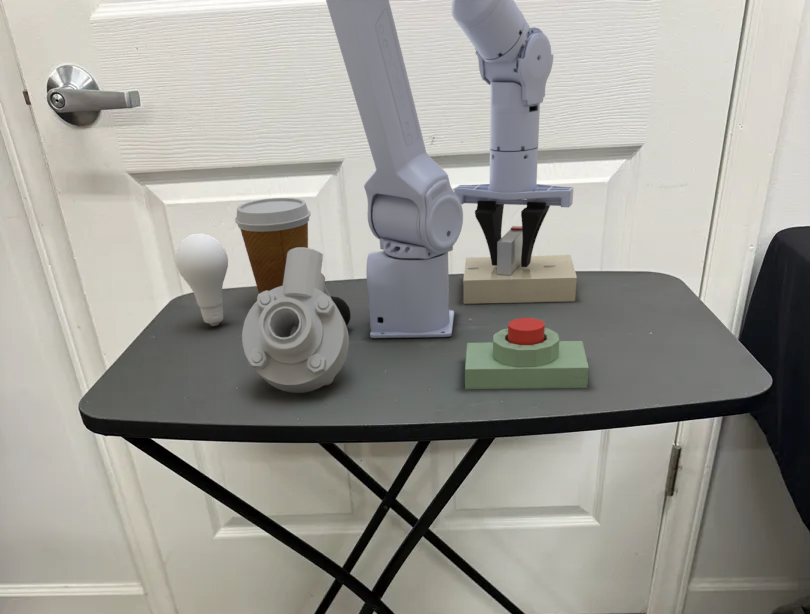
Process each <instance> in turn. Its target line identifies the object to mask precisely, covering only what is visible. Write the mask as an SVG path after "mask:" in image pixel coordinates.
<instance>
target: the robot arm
mask: <svg viewBox="0 0 810 614" xmlns="http://www.w3.org/2000/svg"><path fill="white" fill-rule="evenodd" d="M325 2H326V5H327V9H328V13H329V15H330V19H331V22H332V26H333V29H334V32H335V36H336V39H337V42H338V45H339V49H340V53H341V56H342V59H343V63H344V65H345V70H346V71H347V72H346V73H347V76H348V79H349V84H350V86H351V89H352V93H353V96H354V99H355V104H356V107H357V110H358V113H359V116H360V120H361V123H362V126H363V127H362V128H363V130H364V133H365V136H366V139H367V144H368V147H369V150H370V153H371V157H372V160H373V163H374V167H375V168H374V170H373V171H372V172H371V174H370V175H369V176H368V178H367V179H366V181H365V183H364V184H363V187H364V191H365V194H366V199H367V223H368V227H369V229H370V232H371V233H372V235H373V236H374V237H375V238H376V239H378V240H379V247H380V250H378V251H369V253H368V254H367V256H366V257H367V258H366V271H365V272H366V273H365V275H366V290H367V303H368V316H369V327H370V333H369V338H371V339H402V338H404V339H410V338H413V339H414V338H449V337H451V336H452V334H453V328H454V319H455V311H454V310H452V309H451V310H450V282H449V281H450V280H449V279H450V278H449V277H450V276H449V274H450V273H449V252H452V251H453V250H454V246H455V244H456V243H457V241H458V240H459V238H460V235H461V233H462V229H463V224H464V211H463V205H464V204H473V205H474V204H477V207H476V209H475V210H474V215H475V219H476V220H477V223H478V224H479V227H480V228H481V230H482V234H483V236H484V238H485V240H486V241H485V242H486V244H487V247H488V251H489V257H491V262H492V265H494V266H497V244H498V241H499V240H500V239H501V238H502V226H503V218H504V217H503V216H504V207H505V205H512V206H513V205H514V206H515V205H517V206H526V207H524V208H523V209H522V210H521V212H520V213H521V214H520V217H521V226H522V236H523V242H522V255H521V267H527V266H528V265H529V264H530V261H531V256H533V255H532V254H533V250H534V246H535V243H536V240H537V237H538V235H539V231H540V230H541V227H542V225H543V223H544V220H545V218H546V216H547V214H548V212H549V210H550V207H551V206H552V207H554V206H555V207H556V206H557V207H560V208H570V207H571V206H572V205H573V202H574V188H575V187H574V186H561V185H560V186H559V185H550V184H540V183H538V182H537V181H538V162H539V161H538V160H539V157H538V156H539V138H540V137H539V136H540V135H539V134H540V112H541V111H540V109H541V104H543V102H544V98H545V97H546V85H547V82H548V79H549V77H550V74H551V71H552V68H553V63H554V54H552V46H551V42H550V40H549V38H548V36H547V35H546V34H545V33H544V32H543V31H542V30H541V29H540V28H539V27H536V26H535V27H534V26H533V27H531V26H530V23H528V21H527V20H526V18H525V16H524V14H523V12H522V10H521V9H520V8H519V6H518V5H517V3H516V2H515V0H451V2H450V3H451V4H450V11H451V16H452V18H453V20H454V21H455V22H456V24H457V25H458V27H459V28H460V29H461V31H462V32H463V34H464V35H465V36H466V38H467V40H469V42H470V43H471V45H472V47H474V50H475V55H476V57H477V60H478V70H479V74H480V78H481V80H483V81H484V82H485V83H486V84H487V85H489V86H490V88H489V89H490V91H489V93H490V95H489V96H490V99H489V101H490V103H489V106H490V107H489V183H480V184H458V185H457V186H455V187H454V188H453V187H452V186H451V182H450V178H449V175H448V173H447V172H446V171H445V170H444V169H443V168H442V167H441V166H440V165H439V164H438V163H437V162H436V161H435V160H434V159H433V158H432V157H431V156H430V155H429V154H428V153H427V150H426V146H425V141H424V137H423V134H422V129H421V126H420V121H419V117H418V112H417V110H416V104H415V101H414V97H413V93H412V89H411V84H410V81H409V77H408V72H407V68H406V64H405V60H404V56H403V52H402V49H401V44H400V40H399V36H398V32H397V28H396V24H395V23H396V22H395V20H394V16H393V12H392V11H393V10H392V7H391V3H390V0H325ZM452 188H453V189H452Z"/></svg>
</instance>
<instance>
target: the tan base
mask: <svg viewBox="0 0 810 614" xmlns="http://www.w3.org/2000/svg"><path fill="white" fill-rule="evenodd" d="M463 270H464V272H463V279H462V281H463V282H462V283H463V285H462V286H463V290H462V291H463V304H464V305H471V304H472V305H475V304H478V305H479V304H516V303H517V304H518V303H519V304H520V303H525V304H526V303H562V302H565V303H566V302H568V303H569V302H576V297H577V282H578V277H577V273H576V269H575V267H574V263H573V258H572V255H571V254H556V255H554V254H551V255H531V261H530V264H529V265H528V266H527V267H521V264H520V265H519V266H518V267H517V268H516V270H515V271H514V272H513V273H512V274H511V275H499V274H497V266H494V265H492V262H491V256H486V257H485V256H483V257H479V256H478V257H466V258H465V261H464V269H463Z"/></svg>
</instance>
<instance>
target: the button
mask: <svg viewBox="0 0 810 614" xmlns="http://www.w3.org/2000/svg"><path fill="white" fill-rule="evenodd" d="M545 323H546V322H544V321H543V320H541V319H539V318H533V317H520V318H515V319H513V320H511V321H509V322H508V323H507V328H508V342H509V343H512V344H517V345H535V344H539V343H543V342H544V331H545V328H546V324H545Z"/></svg>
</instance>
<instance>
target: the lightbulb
mask: <svg viewBox="0 0 810 614" xmlns="http://www.w3.org/2000/svg"><path fill="white" fill-rule="evenodd" d="M174 257H175V259H174V260H175V261H174V262H175V265H176V269H177V271H178V274H180V276H181V277H182V279H183V281H185V282H186V284H187V285H188V286H189V287H190V289H191V291H192V293H193V295H194V297H195V300H196V304H197V307H199V309H200V314H201V316H202V320H203V322H204V323H206V324H208V325H210V326H211V327H215V326H218V325H220V323H221V322H223V320H224V317H225V316H224V309H223V303H224V298H223V297H224V296H223V288H224V287H223V286H224V281H225V279H226V275H227V271H228V268H229V258H228V257H229V256H228V254H227V251H226V249H225V247H224V246H223V244H222V243H221V242H220V241H219V240H218V239H217V238H215V237H214V236H213V235H210V234H207V233H202V232H201V233H200V232H197V233H192V234H188V235H187V236H186V237H184V238H183V239H182V240H181V241H180V242H179V244H178V245H177V247H176V251H175V256H174Z"/></svg>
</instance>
